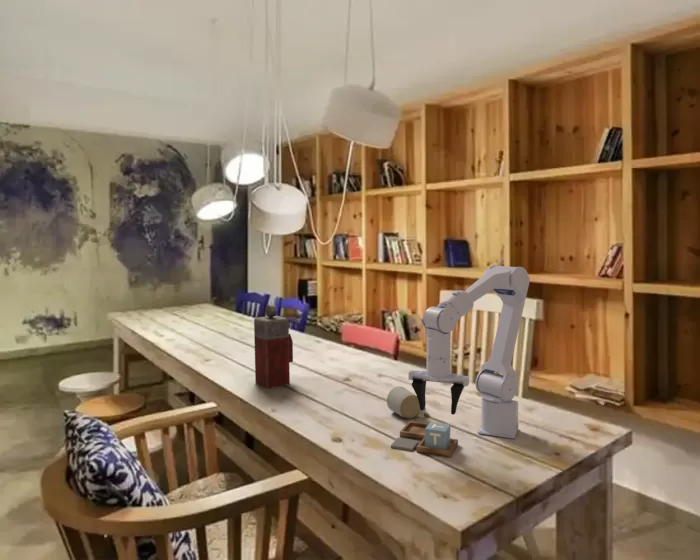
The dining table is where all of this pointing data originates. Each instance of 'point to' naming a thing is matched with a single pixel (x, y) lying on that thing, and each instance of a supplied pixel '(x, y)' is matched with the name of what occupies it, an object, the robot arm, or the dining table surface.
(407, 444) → the slate tile
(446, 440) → the letter cube
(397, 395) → the ceramic mug
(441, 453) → the tray
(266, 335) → the dark red bottle
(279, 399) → the dining table surface
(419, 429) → the tray
